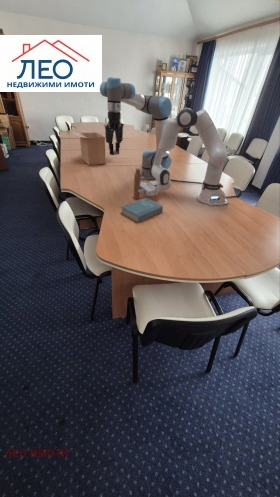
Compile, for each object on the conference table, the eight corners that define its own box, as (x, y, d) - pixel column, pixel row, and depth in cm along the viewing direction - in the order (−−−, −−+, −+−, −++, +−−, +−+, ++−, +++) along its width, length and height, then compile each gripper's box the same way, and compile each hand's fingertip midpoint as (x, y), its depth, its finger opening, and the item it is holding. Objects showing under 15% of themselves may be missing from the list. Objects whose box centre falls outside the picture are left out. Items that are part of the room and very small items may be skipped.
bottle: (134, 199, 164) (136, 170, 151) (132, 196, 168) (133, 168, 155) (140, 198, 166) (142, 169, 153) (138, 196, 169) (139, 167, 156)
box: (116, 165, 229) (116, 136, 213) (83, 168, 214) (80, 137, 198) (102, 154, 259) (101, 128, 243) (71, 156, 244) (68, 129, 228)
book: (145, 204, 158) (145, 197, 155) (162, 212, 149) (163, 206, 146) (121, 213, 145) (121, 206, 142) (138, 223, 136) (138, 216, 133)
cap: (119, 154, 140) (119, 151, 140) (113, 155, 138) (113, 152, 137) (115, 152, 143) (115, 150, 142) (110, 153, 141) (109, 150, 140)
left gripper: (106, 112, 120) (107, 157, 134) (129, 111, 130) (128, 153, 144) (98, 110, 124) (100, 154, 138) (120, 110, 134) (120, 151, 148)
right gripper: (145, 178, 173) (129, 180, 168) (159, 187, 159) (142, 190, 154) (144, 186, 177) (129, 188, 171) (158, 196, 163) (142, 198, 157)
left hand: (114, 154), depth 141 cm, fingers closed on cap, 4 cm apart
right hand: (135, 189), depth 162 cm, fingers closed on bottle, 5 cm apart
